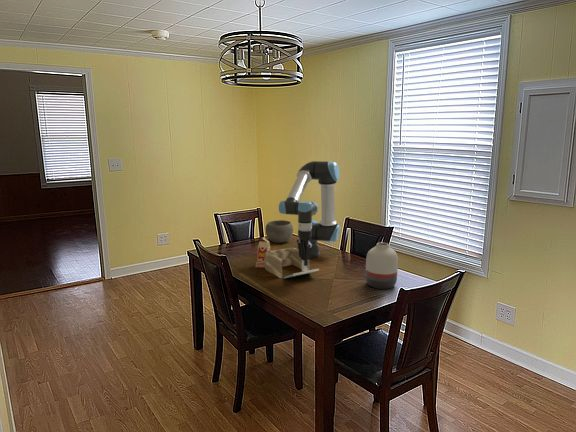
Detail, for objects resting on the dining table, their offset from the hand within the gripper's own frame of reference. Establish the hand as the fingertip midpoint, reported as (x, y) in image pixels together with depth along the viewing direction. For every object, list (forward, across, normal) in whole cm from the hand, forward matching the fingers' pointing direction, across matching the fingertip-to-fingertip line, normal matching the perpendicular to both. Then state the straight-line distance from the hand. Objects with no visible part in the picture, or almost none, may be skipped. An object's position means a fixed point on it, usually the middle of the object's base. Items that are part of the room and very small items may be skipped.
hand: (304, 270), depth 239 cm
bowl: (+6, -82, +32) cm, 88 cm away
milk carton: (+7, -35, -7) cm, 36 cm away
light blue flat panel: (+6, -9, 0) cm, 10 cm away
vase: (+7, +26, +33) cm, 43 cm away
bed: (+7, -19, 0) cm, 20 cm away
